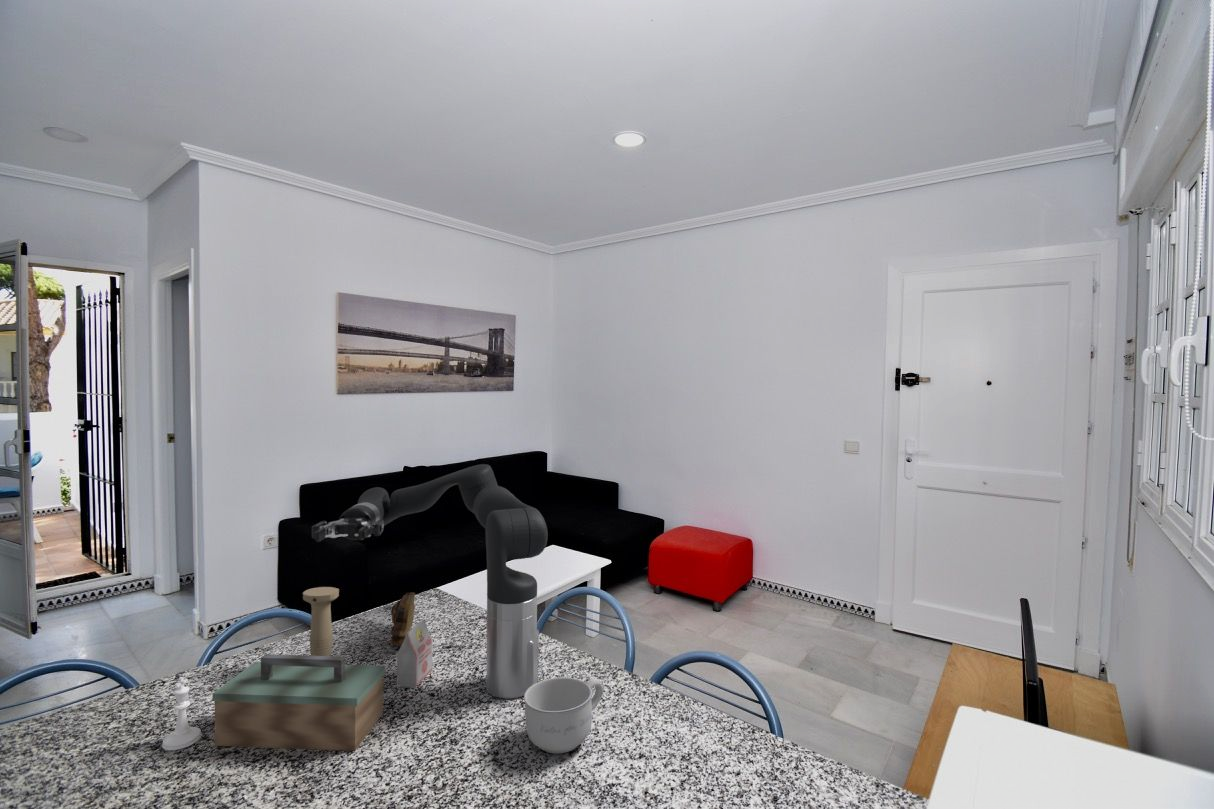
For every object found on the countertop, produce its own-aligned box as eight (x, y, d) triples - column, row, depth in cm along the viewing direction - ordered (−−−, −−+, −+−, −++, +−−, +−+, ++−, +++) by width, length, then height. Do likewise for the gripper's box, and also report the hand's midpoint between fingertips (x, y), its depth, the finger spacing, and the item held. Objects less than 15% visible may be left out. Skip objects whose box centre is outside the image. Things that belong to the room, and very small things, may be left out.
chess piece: (209, 734, 90) (208, 672, 90) (176, 753, 85) (175, 688, 85) (187, 728, 92) (186, 667, 91) (154, 746, 87) (153, 682, 87)
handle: (331, 672, 110) (330, 596, 109) (298, 671, 110) (298, 595, 110) (343, 660, 115) (343, 587, 114) (311, 659, 115) (311, 586, 114)
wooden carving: (395, 626, 131) (395, 584, 131) (415, 624, 132) (416, 582, 132) (387, 660, 115) (387, 611, 115) (411, 657, 117) (411, 609, 116)
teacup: (537, 772, 83) (538, 718, 82) (514, 731, 92) (514, 683, 92) (621, 745, 89) (622, 695, 89) (591, 709, 99) (591, 664, 98)
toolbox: (403, 688, 105) (403, 625, 104) (357, 750, 87) (357, 675, 86) (283, 684, 105) (283, 621, 105) (213, 745, 87) (212, 670, 87)
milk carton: (397, 685, 106) (397, 632, 105) (414, 668, 112) (415, 618, 112) (415, 687, 105) (415, 634, 105) (432, 669, 112) (432, 619, 111)
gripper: (328, 505, 136) (303, 519, 120) (391, 503, 138) (374, 517, 122) (328, 536, 136) (303, 555, 120) (391, 534, 138) (374, 552, 122)
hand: (339, 536), depth 121 cm, fingers open, 8 cm apart
